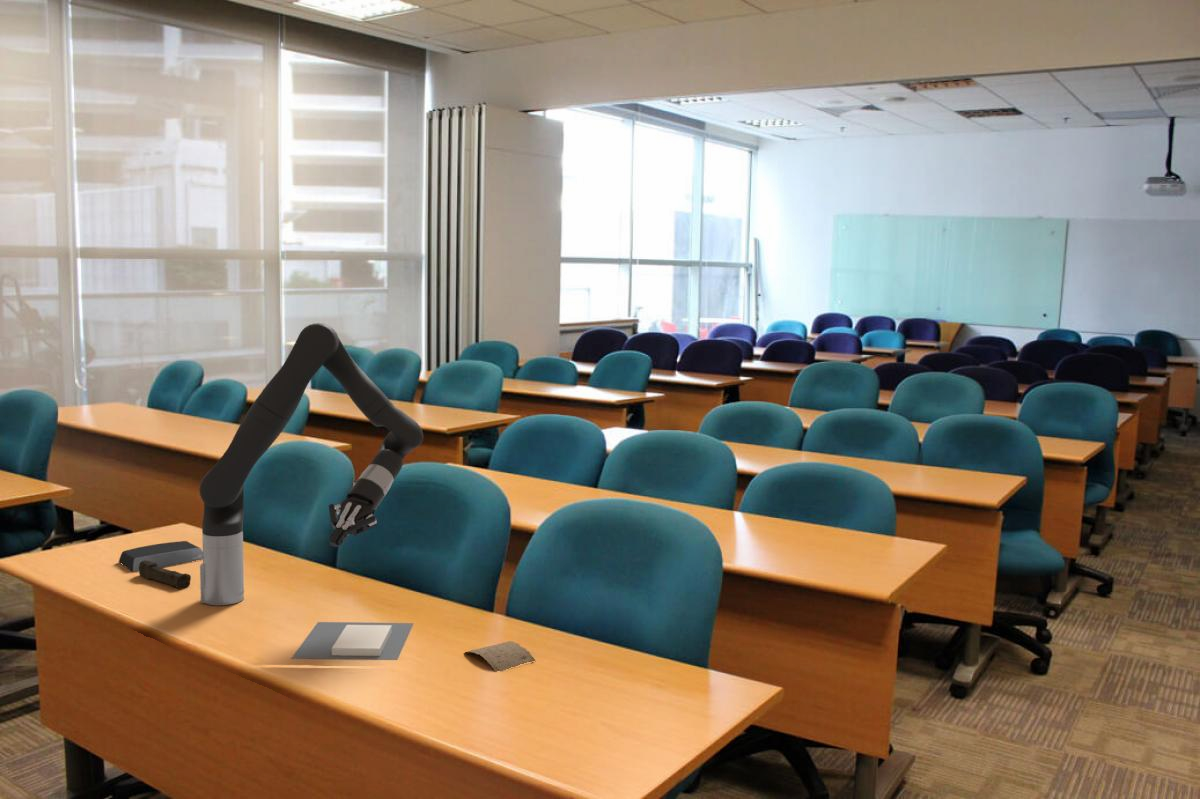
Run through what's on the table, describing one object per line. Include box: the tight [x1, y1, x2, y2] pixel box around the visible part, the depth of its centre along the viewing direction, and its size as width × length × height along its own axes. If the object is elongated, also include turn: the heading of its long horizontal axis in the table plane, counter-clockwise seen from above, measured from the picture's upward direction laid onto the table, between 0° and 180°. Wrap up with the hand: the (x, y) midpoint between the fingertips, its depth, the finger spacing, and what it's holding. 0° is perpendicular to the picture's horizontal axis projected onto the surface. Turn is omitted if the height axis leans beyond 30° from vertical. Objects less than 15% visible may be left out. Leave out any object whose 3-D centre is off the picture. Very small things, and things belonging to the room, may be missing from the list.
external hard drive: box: [118, 540, 203, 573], centre depth 267 cm, size 13×19×4 cm
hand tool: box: [138, 560, 192, 590], centre depth 249 cm, size 19×4×5 cm, turn 56°
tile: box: [332, 625, 392, 656], centre depth 208 cm, size 10×2×14 cm
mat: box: [290, 621, 414, 661], centre depth 210 cm, size 22×22×1 cm
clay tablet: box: [464, 640, 536, 673], centre depth 204 cm, size 14×10×3 cm
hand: (333, 544), depth 218 cm, fingers closed
